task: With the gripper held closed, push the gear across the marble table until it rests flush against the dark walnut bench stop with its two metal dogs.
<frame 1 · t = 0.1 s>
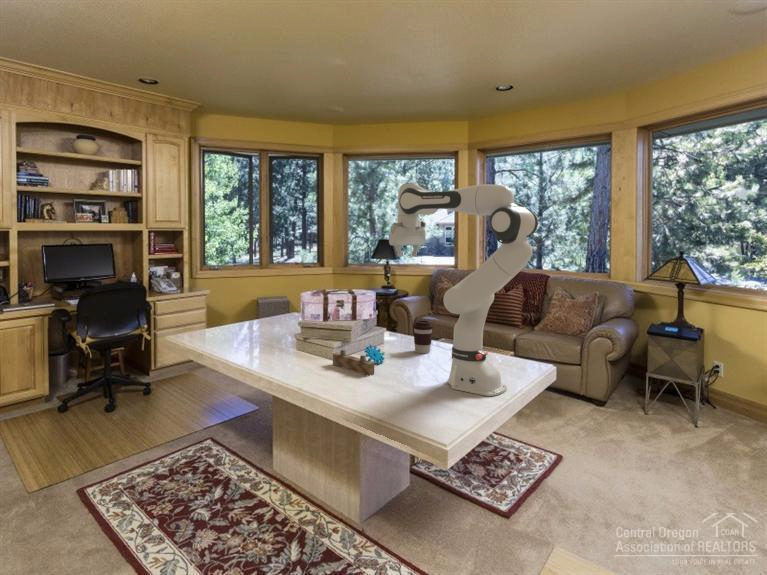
hand: (407, 256, 188), 48 cm above the table, tool pointing down, fingers open, 8 cm apart
gear: (375, 363, 200), on the table
bench stop: (352, 369, 189), on the table
coffee cup: (422, 352, 219), on the table
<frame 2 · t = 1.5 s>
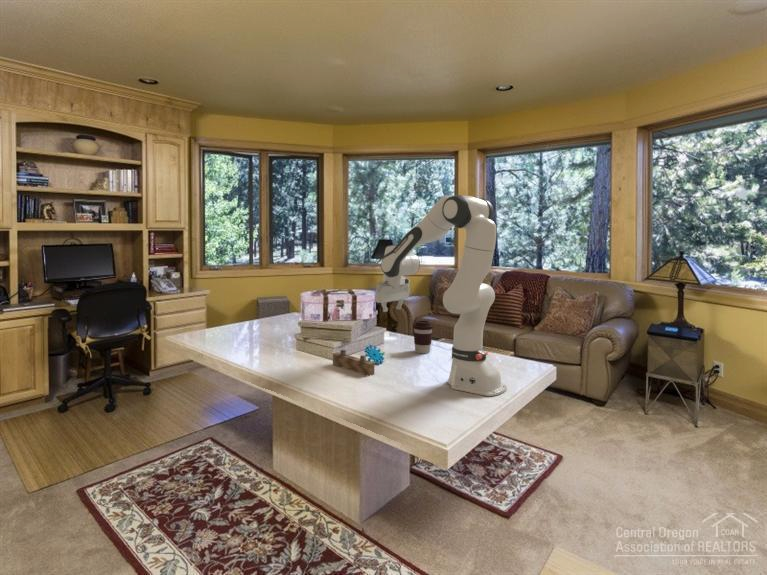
hand: (392, 310, 205), 22 cm above the table, tool pointing down, fingers open, 8 cm apart
nothing on the table moved.
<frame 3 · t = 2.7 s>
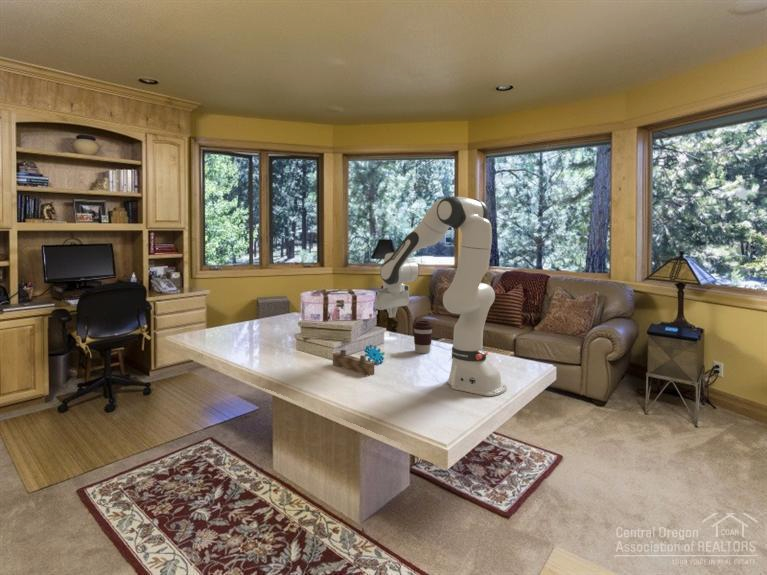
hand: (392, 317, 205), 19 cm above the table, tool pointing down, fingers closed
nothing on the table moved.
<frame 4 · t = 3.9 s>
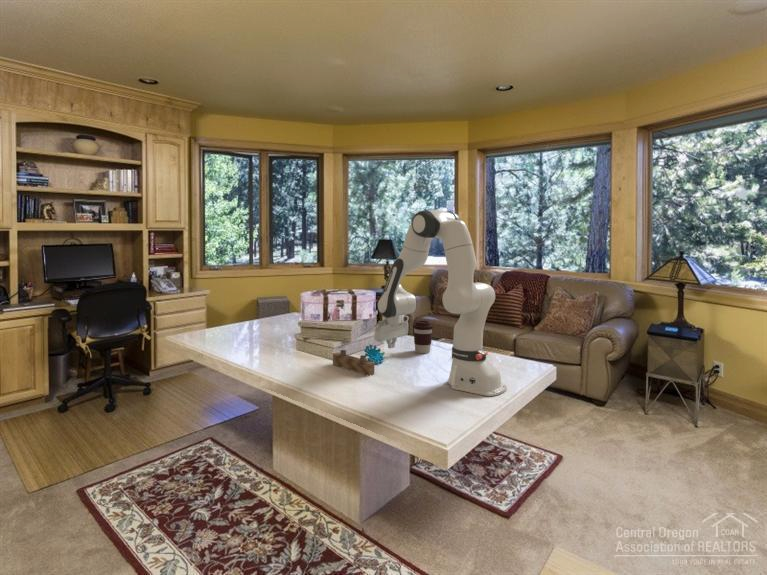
hand: (391, 347, 207), 5 cm above the table, tool pointing down, fingers closed
nothing on the table moved.
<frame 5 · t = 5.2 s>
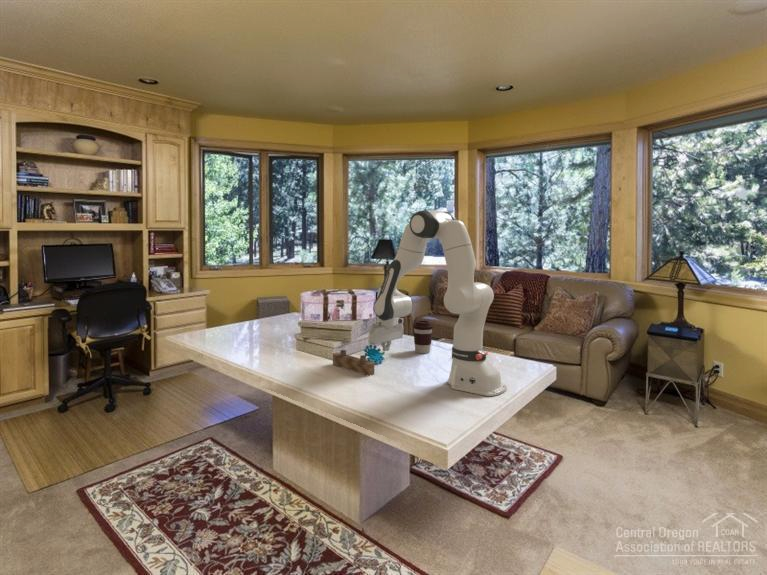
hand: (386, 350, 204), 4 cm above the table, tool pointing down, fingers closed
gear: (374, 362, 200), on the table, touching gripper
everything else where it was.
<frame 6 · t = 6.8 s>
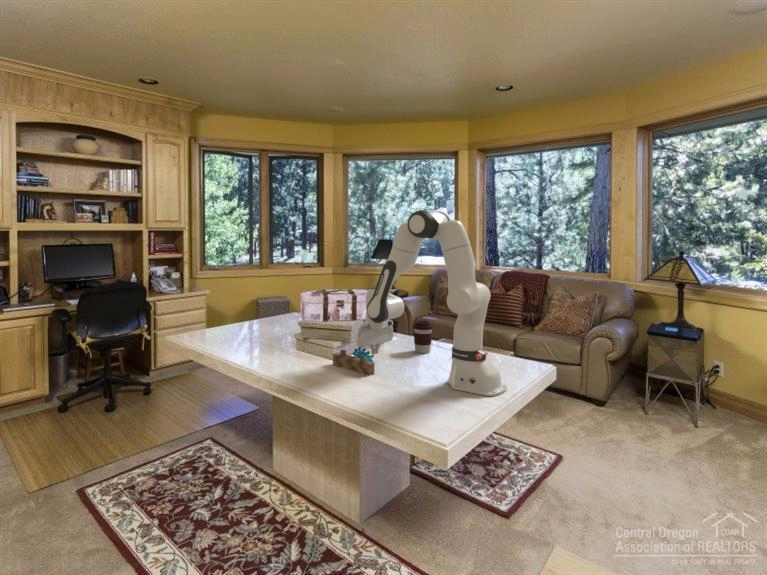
hand: (375, 353, 199), 4 cm above the table, tool pointing down, fingers closed
gear: (363, 366, 195), on the table, touching bench stop, gripper
everything else where it was.
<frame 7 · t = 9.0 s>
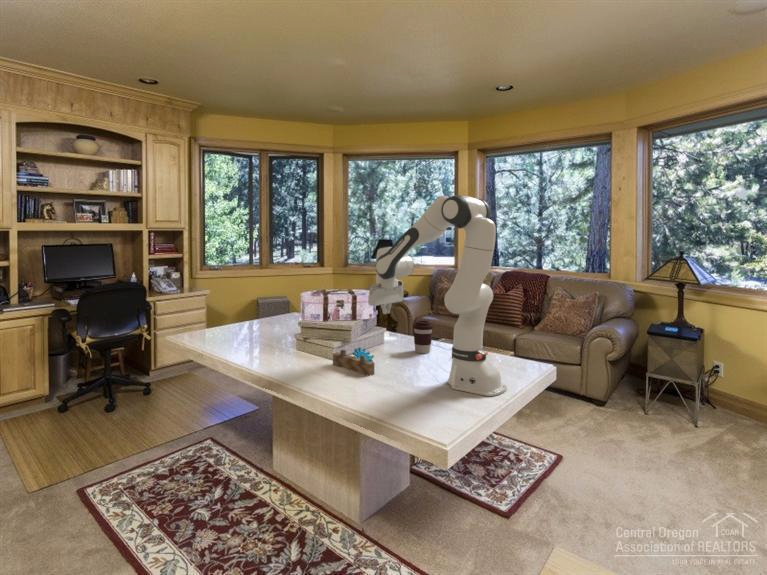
hand: (386, 313, 201), 21 cm above the table, tool pointing down, fingers closed
gear: (363, 366, 195), on the table
everything else where it was.
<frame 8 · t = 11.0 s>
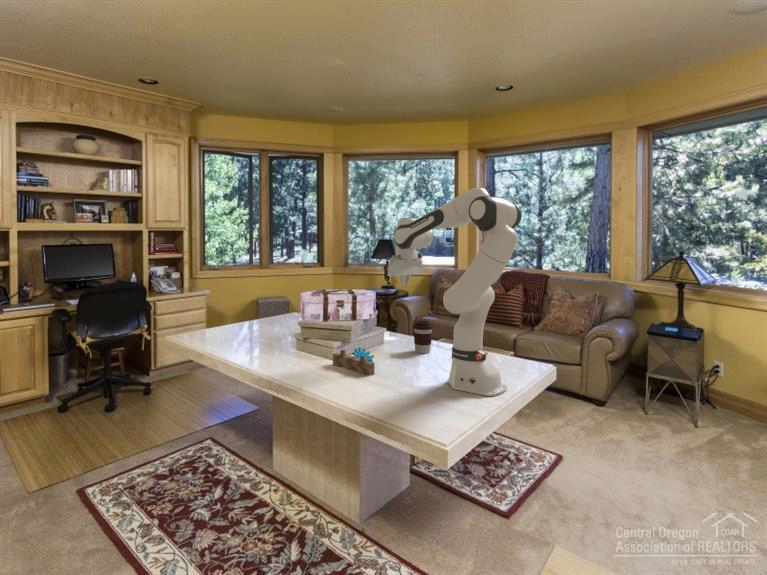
hand: (405, 285, 201), 34 cm above the table, tool pointing down, fingers closed
nothing on the table moved.
at the end: gear inside the target area (0.9 cm from its centre), on the table; gear moved 6.9 cm from its start; coffee cup moved 0.2 cm from its start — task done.
